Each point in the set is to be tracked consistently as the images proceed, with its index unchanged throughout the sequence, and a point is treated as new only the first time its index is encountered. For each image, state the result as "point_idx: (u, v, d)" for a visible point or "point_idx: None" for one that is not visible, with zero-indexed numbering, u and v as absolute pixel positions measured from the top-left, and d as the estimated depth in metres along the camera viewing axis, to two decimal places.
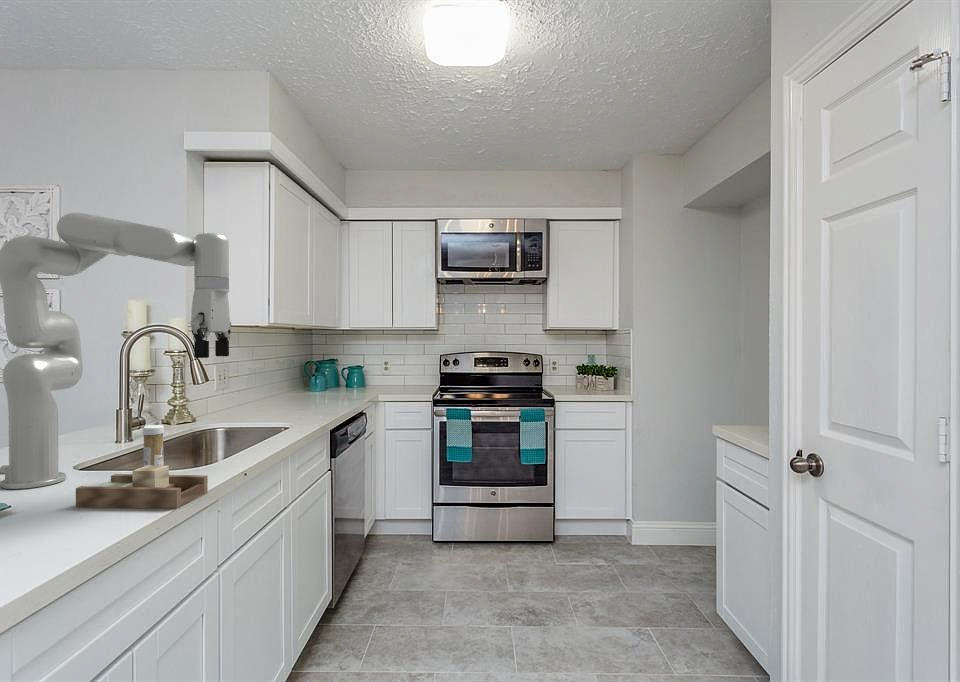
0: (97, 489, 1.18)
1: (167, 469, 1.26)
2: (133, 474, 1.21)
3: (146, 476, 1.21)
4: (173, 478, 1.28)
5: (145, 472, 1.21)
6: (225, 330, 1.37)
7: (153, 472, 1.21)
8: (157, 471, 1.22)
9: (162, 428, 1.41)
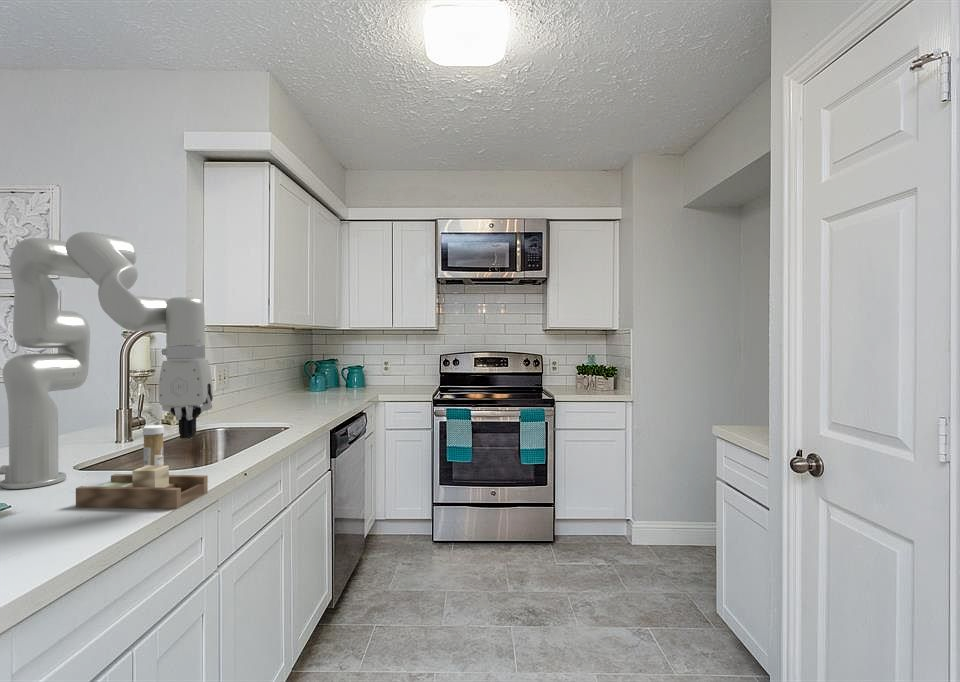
0: (97, 489, 1.18)
1: (167, 469, 1.26)
2: (133, 474, 1.21)
3: (146, 476, 1.21)
4: (173, 478, 1.28)
5: (145, 472, 1.21)
6: None
7: (153, 472, 1.21)
8: (157, 471, 1.22)
9: (162, 428, 1.41)
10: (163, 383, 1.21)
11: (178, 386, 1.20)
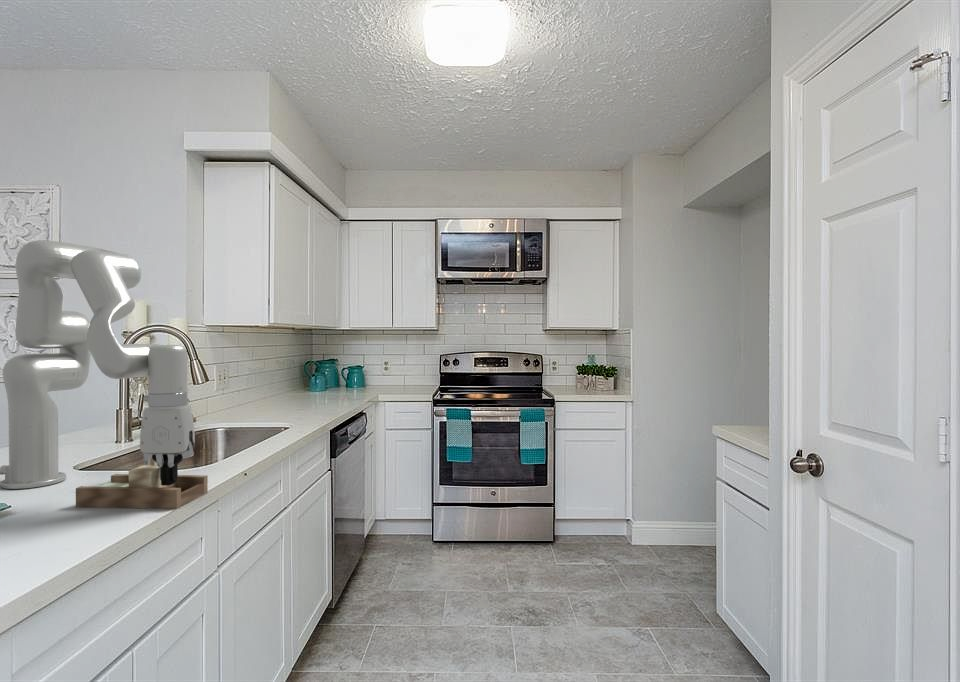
0: (97, 489, 1.18)
1: None
2: (129, 474, 1.21)
3: (142, 476, 1.21)
4: None
5: (141, 472, 1.21)
6: None
7: (149, 472, 1.21)
8: (153, 471, 1.22)
9: None
10: (145, 431, 1.21)
11: (159, 434, 1.21)
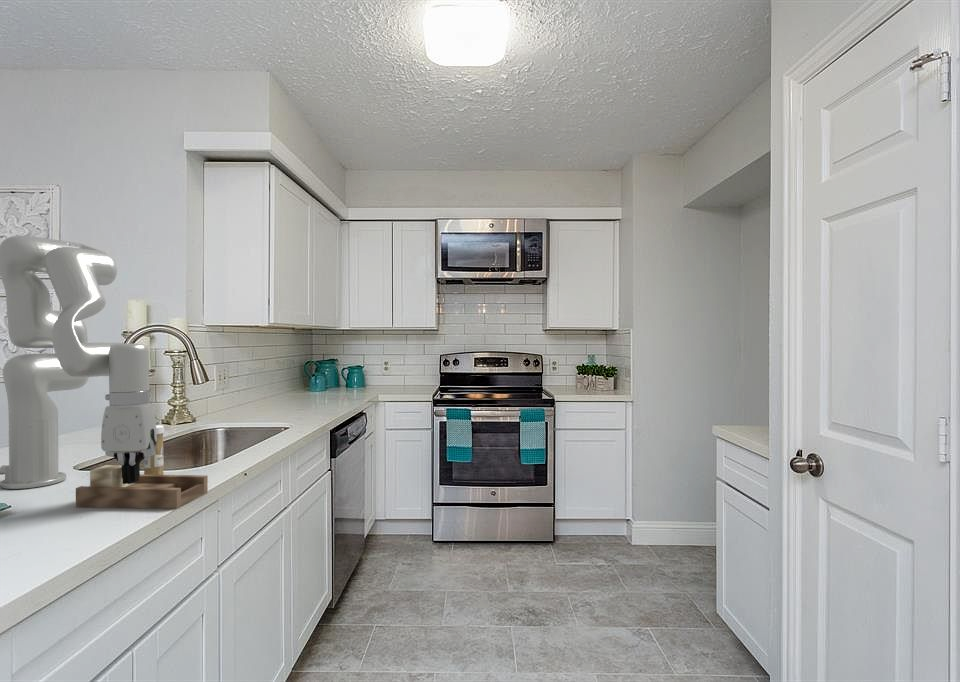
0: (97, 489, 1.18)
1: None
2: (91, 474, 1.22)
3: (104, 476, 1.21)
4: (173, 478, 1.28)
5: (103, 472, 1.21)
6: None
7: (111, 472, 1.21)
8: (115, 471, 1.22)
9: (162, 428, 1.41)
10: (105, 429, 1.21)
11: (120, 433, 1.21)
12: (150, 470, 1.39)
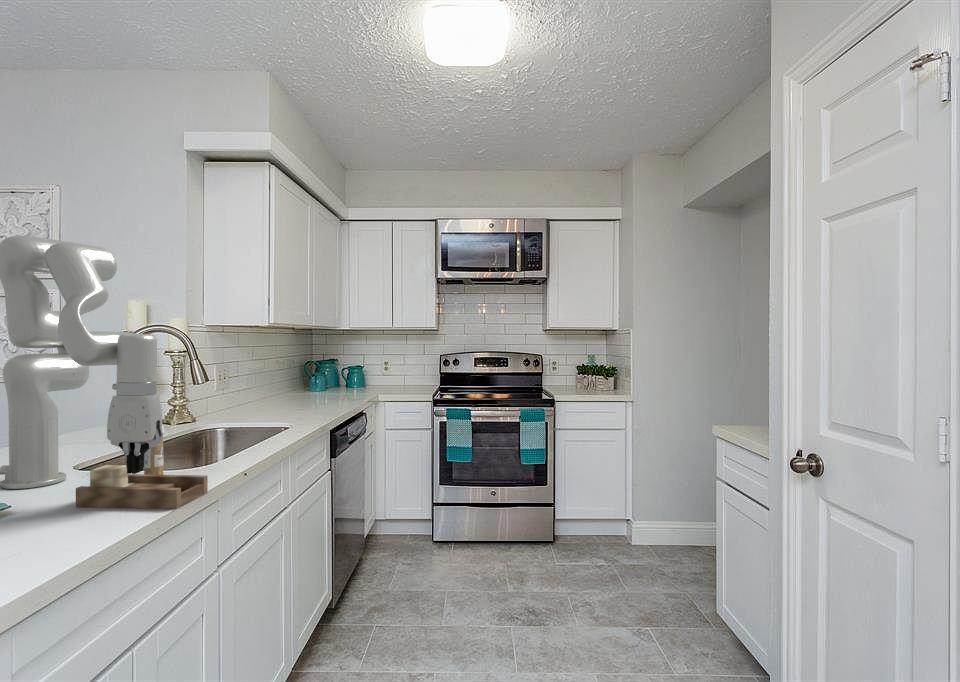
0: (97, 489, 1.18)
1: (126, 469, 1.26)
2: (91, 474, 1.22)
3: (104, 476, 1.21)
4: (173, 478, 1.28)
5: (103, 472, 1.21)
6: None
7: (111, 472, 1.21)
8: (115, 471, 1.22)
9: (162, 428, 1.41)
10: (112, 419, 1.22)
11: (126, 423, 1.21)
12: (150, 470, 1.39)
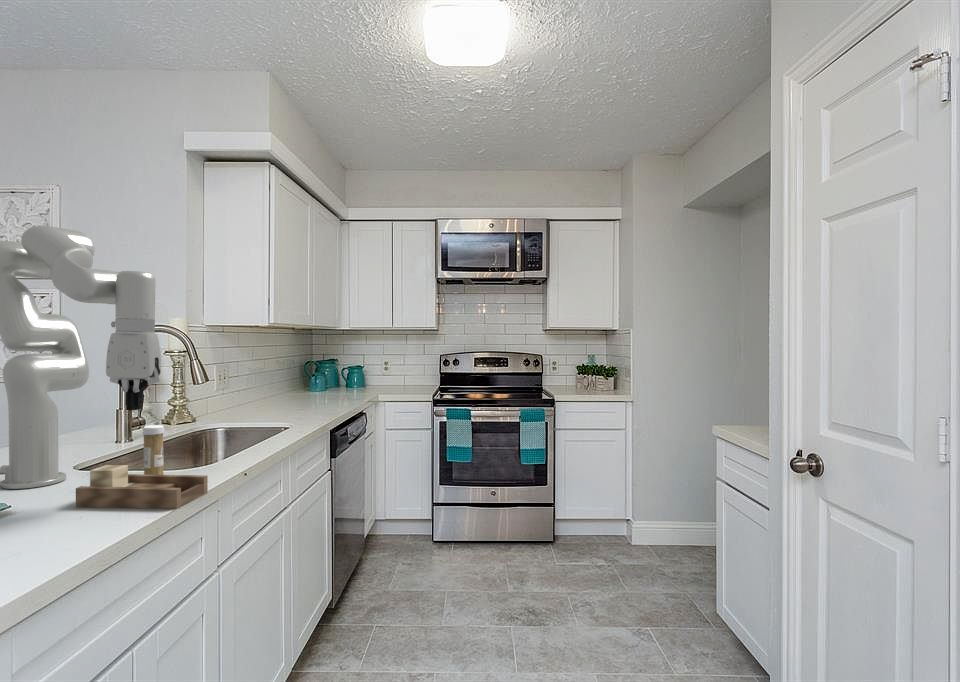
0: (97, 489, 1.18)
1: (126, 469, 1.26)
2: (91, 474, 1.22)
3: (104, 476, 1.21)
4: (173, 478, 1.28)
5: (103, 472, 1.21)
6: None
7: (111, 472, 1.21)
8: (115, 471, 1.22)
9: (162, 428, 1.41)
10: (111, 355, 1.22)
11: (125, 359, 1.22)
12: (150, 470, 1.39)
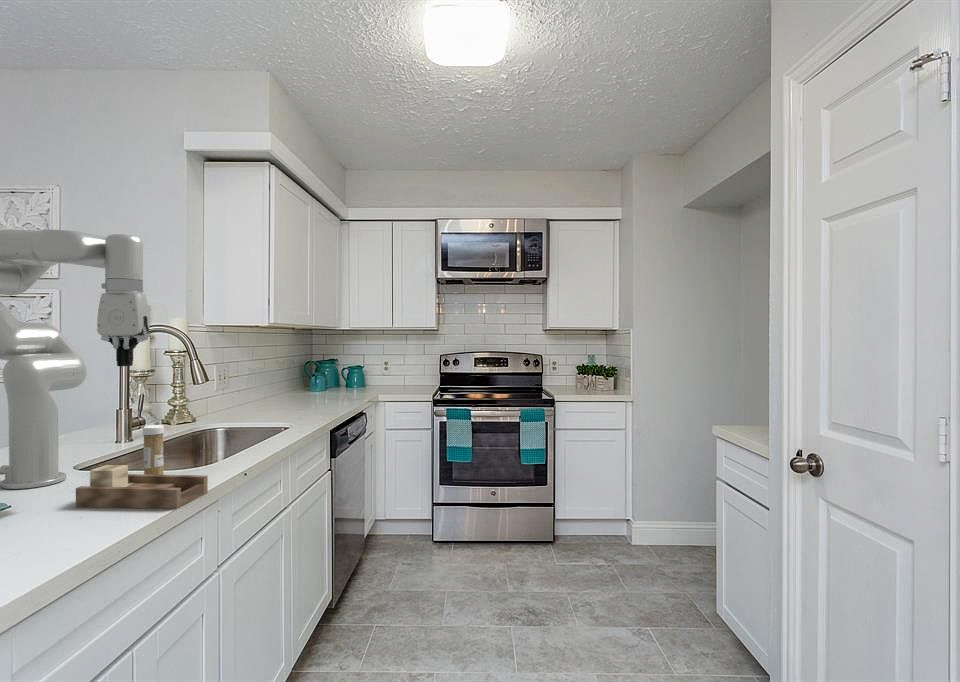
0: (97, 489, 1.18)
1: (126, 469, 1.26)
2: (91, 474, 1.22)
3: (104, 476, 1.21)
4: (173, 478, 1.28)
5: (103, 472, 1.21)
6: None
7: (111, 472, 1.21)
8: (115, 471, 1.22)
9: (162, 428, 1.41)
10: (101, 314, 1.30)
11: (115, 317, 1.29)
12: (150, 470, 1.39)
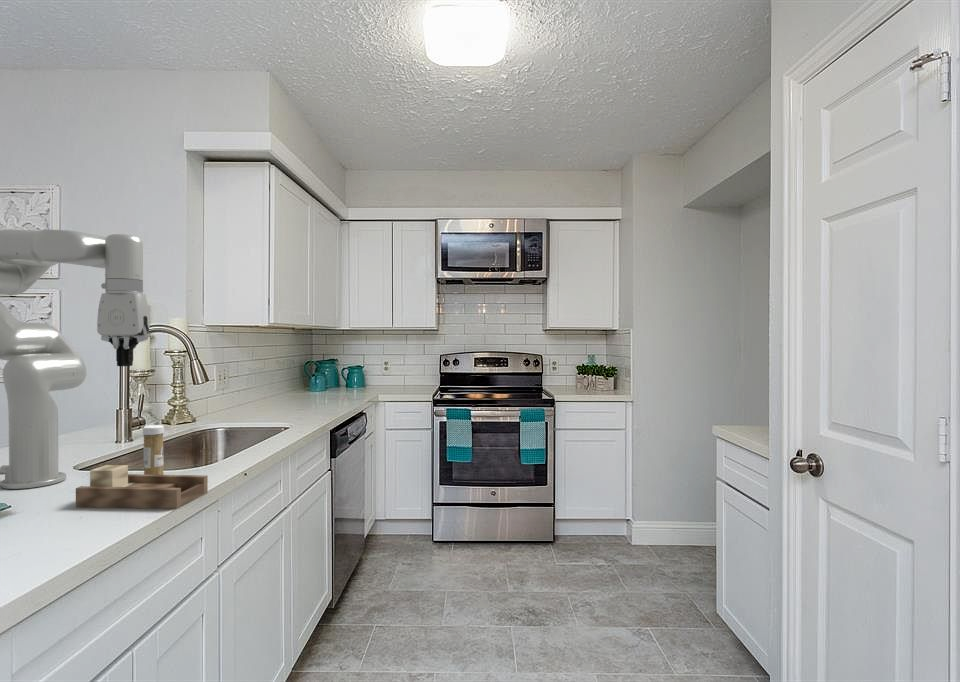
0: (97, 489, 1.18)
1: (126, 469, 1.26)
2: (91, 474, 1.22)
3: (104, 476, 1.21)
4: (173, 478, 1.28)
5: (103, 472, 1.21)
6: None
7: (111, 472, 1.21)
8: (115, 471, 1.22)
9: (162, 428, 1.41)
10: (101, 314, 1.30)
11: (115, 317, 1.29)
12: (150, 470, 1.39)
